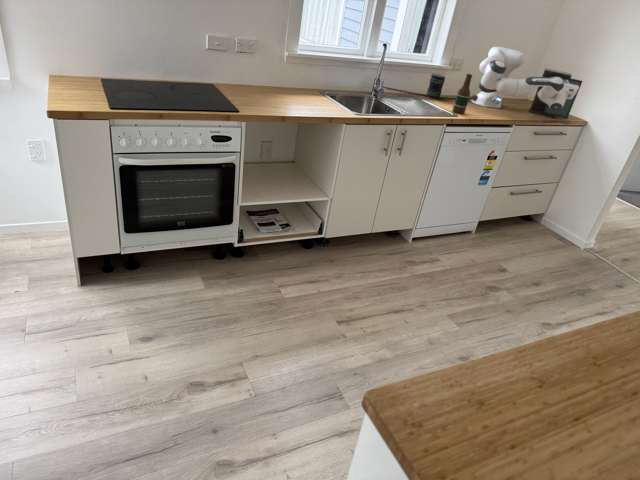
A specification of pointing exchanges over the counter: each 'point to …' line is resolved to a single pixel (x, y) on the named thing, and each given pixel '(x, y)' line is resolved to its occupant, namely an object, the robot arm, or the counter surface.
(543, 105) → the display cabinet
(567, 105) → the glass door
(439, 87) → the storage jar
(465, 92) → the beer bottle
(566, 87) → the robot arm
